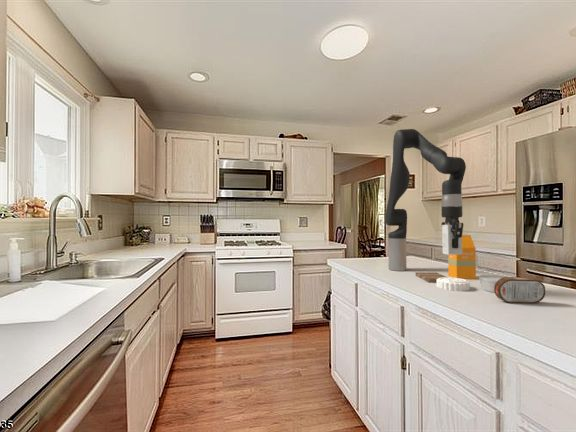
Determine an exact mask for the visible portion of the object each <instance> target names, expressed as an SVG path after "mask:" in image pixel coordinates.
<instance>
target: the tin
mask: <svg viewBox="0 0 576 432" xmlns="http://www.w3.org/2000/svg"><path fill="white" fill-rule="evenodd" d="M494 292H495V293H494V294H495V296H496V297H497V298H498V299H499V300H501V301H503V302H505V303H508V304H538V303H540V302H542V301H543V299H544V298H545V296H546V292H547V291H546V286H545V285H544V283H542V282H541V281H540V280H537V279H535V278H534V277H529V276H528V277H527V276H526V277H525V276H524V277H523V276H521V277H520V276H519V277H518V276H505V277H503V278H501V279H499V280H498V281H497V282H496V284H495V286H494Z"/></svg>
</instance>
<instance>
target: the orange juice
mask: <svg viewBox="0 0 576 432" xmlns="http://www.w3.org/2000/svg"><path fill="white" fill-rule="evenodd" d="M476 250H477V249H476V246H475V243H474V240H473V238H472V236H471V235H470V234H469V235H467V234H466V235H465V234H464V235H463V234H462V254H459V255H447V256H448V258H447V263H448V270H447V271H448V277H453V278H460V279H465V280H476V276H477V273H476V271H477V270H476V268H477V261H476V260H477V257H476V254H477V253H476Z"/></svg>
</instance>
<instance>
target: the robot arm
mask: <svg viewBox="0 0 576 432" xmlns="http://www.w3.org/2000/svg"><path fill="white" fill-rule="evenodd" d="M412 148H413V149H416V150H419V152H420V155H421V157H422V158H423V159H424V160H425V161H427V162H428V163H430V164H431V165H432V166H433V167H434V168H435V170H436V171H438V172H439V173H441V174H444V175H450V176H449V179H448V180H447V179H446V180H444V181H442V184H441V194H442V195H441V199H440V200H441V206H440V207H441V218H445V220H444V221H443V222H441V226H442V225H452V227H451V233H452V248H458V239H459V238H461V237H462V235H463V231H464V222H460V219H459V218H462V217H463V195H462V194H463V193H462V183H463V180H464V176H465V173H466V169H467V168H466V167H467V165H466V162H465V160H464V159H463V158H462V157H457V156H449V155H448V153H447V152H446V151H445V150H443V149H442V148H440V147H438V146H436V145H434V144H433V143H431V141H429V140H428V139H427V138H426V137H425V136H424V135H423V134H421V133H420V131H418V130H416V129H414V128H407V129H405V128H404V129H398V130H396V131H395V133H394V136H393V142H392V165H391V172H390V173H391V174H390V180H389V192H388V198H387V199H388V200H387V205H386V210H385V216H384V221H385V224H386V226H389V227H392V226H393V227H395V226H397V227H398V228H397V229H395V230H393V231H391V232H389V233H388V235H387V236H388V237H387V238H388V240H387V243H388V270H389V271H395V272H403V271H407V231H408V227H407V226H408V212H407V210H406V209H405V208H396V205H397V204H398V201H400V199H401V198H402V196H403V195H404V194H405V192H407V190H408V188H409V185H410V178H411V177H410V176H411V173H410V171H409V169H408V167H407V164H406V162H405V157H404V155H405V149H412ZM452 229H453V230H455V231H453V230H452ZM459 232H460V233H459Z"/></svg>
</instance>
